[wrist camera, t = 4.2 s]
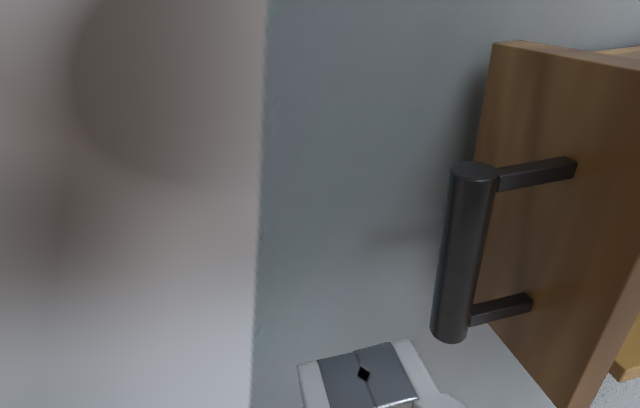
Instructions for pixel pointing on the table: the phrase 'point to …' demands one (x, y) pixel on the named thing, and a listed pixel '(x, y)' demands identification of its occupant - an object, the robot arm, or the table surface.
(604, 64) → the wooden pull-out drawer
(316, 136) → the table surface
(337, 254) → the table surface
